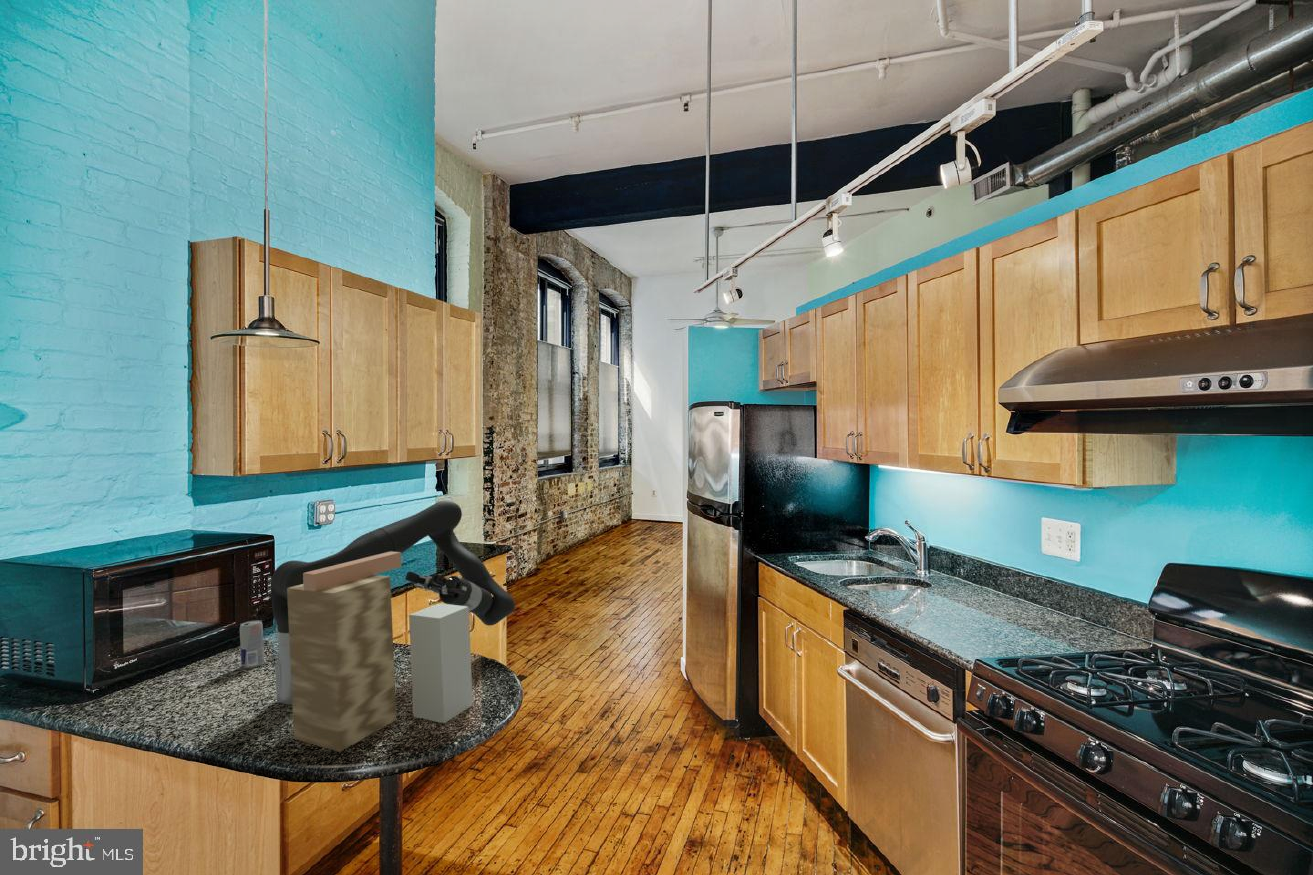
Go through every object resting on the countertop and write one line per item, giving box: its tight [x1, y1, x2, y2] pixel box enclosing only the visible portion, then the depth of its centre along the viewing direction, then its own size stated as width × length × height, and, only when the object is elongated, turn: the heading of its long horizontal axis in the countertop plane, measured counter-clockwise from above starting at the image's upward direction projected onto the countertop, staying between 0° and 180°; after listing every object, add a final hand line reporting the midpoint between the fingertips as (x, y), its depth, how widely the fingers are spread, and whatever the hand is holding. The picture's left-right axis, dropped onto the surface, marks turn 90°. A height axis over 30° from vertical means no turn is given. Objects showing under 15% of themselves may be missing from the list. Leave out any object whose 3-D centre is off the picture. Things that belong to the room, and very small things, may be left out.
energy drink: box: [239, 619, 265, 669], centre depth 168 cm, size 5×5×12 cm
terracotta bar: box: [303, 552, 403, 591], centre depth 132 cm, size 22×4×4 cm, turn 156°
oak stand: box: [287, 574, 397, 753], centre depth 128 cm, size 14×14×32 cm
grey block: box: [408, 603, 474, 724], centre depth 135 cm, size 9×9×23 cm
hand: (420, 576), depth 148 cm, fingers open, 8 cm apart
